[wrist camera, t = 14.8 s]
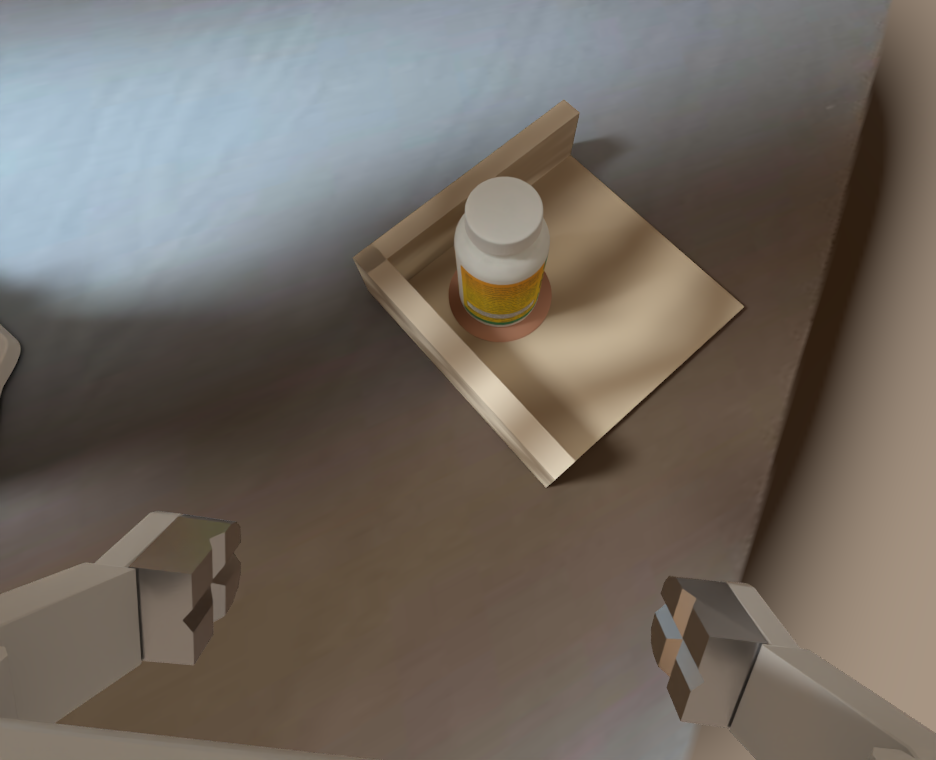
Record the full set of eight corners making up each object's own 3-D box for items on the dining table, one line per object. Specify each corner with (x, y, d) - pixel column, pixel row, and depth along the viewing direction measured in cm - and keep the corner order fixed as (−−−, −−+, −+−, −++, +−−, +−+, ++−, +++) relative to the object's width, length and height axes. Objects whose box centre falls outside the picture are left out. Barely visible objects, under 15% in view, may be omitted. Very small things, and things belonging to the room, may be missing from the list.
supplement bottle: (449, 272, 36) (436, 181, 27) (522, 248, 36) (533, 150, 27) (474, 340, 35) (470, 269, 25) (550, 315, 35) (573, 235, 26)
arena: (368, 290, 37) (352, 257, 32) (555, 147, 40) (564, 99, 35) (545, 488, 32) (555, 479, 28) (740, 309, 35) (776, 277, 31)
